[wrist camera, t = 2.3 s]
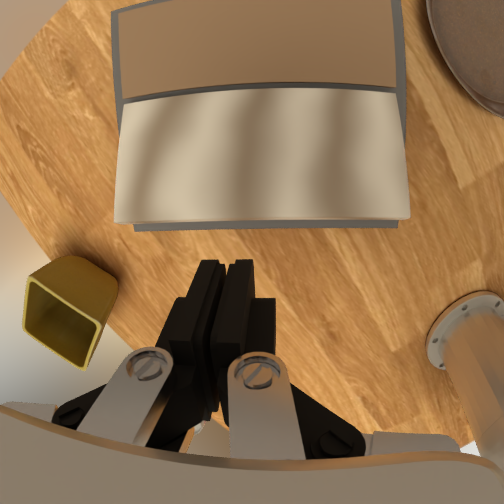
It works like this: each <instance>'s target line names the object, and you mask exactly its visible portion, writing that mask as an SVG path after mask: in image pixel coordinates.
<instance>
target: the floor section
mask: <svg viewBox="0 0 504 504" xmlns="http://www.w3.org/2000/svg"><path fill="white" fill-rule="evenodd" d="M111 37H112V61H113V77H114V90H115V102H116V112H117V121H118V130H119V138H120V130H121V122H122V115H123V107H124V104H129V103H134V102H140V101H146V100H152V99H158V98H165V97H172V96H180V95H188V94H196V93H206V92H217V91H229V90H244V89H266V88H327V89H349V90H364V91H376V92H386V93H396V98H397V103H398V109H399V115H400V121H401V127H402V134H403V141H404V149H405V137H406V60H405V42H404V29H403V17H402V8H401V0H152V1H147V2H143V3H139V4H136V5H132V6H128V7H125V8H121V9H118V10H114V11H111ZM398 221H399V220H240V221H201V222H170V223H145V224H133V225H134V230H135V232H140V231H171V230H210V229H265V228H398Z"/></svg>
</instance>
